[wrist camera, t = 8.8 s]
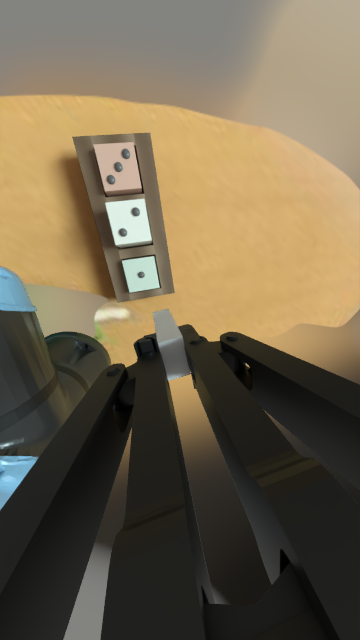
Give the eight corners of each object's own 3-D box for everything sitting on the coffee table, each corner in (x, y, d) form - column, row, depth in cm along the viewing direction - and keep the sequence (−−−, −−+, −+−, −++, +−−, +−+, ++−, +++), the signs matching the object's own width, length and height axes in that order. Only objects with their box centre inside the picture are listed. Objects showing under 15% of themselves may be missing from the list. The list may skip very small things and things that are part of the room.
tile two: (120, 248, 28) (115, 245, 23) (112, 213, 26) (104, 202, 21) (151, 244, 28) (151, 240, 24) (144, 209, 27) (144, 198, 22)
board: (121, 298, 33) (117, 302, 29) (83, 155, 25) (72, 136, 22) (171, 289, 34) (174, 292, 30) (149, 151, 27) (150, 132, 23)
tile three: (112, 203, 28) (104, 190, 23) (103, 165, 26) (92, 143, 21) (142, 200, 28) (141, 187, 23) (135, 163, 27) (133, 141, 22)
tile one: (132, 288, 32) (129, 292, 28) (125, 261, 31) (121, 260, 26) (158, 284, 33) (159, 287, 28) (152, 257, 31) (154, 256, 26)
